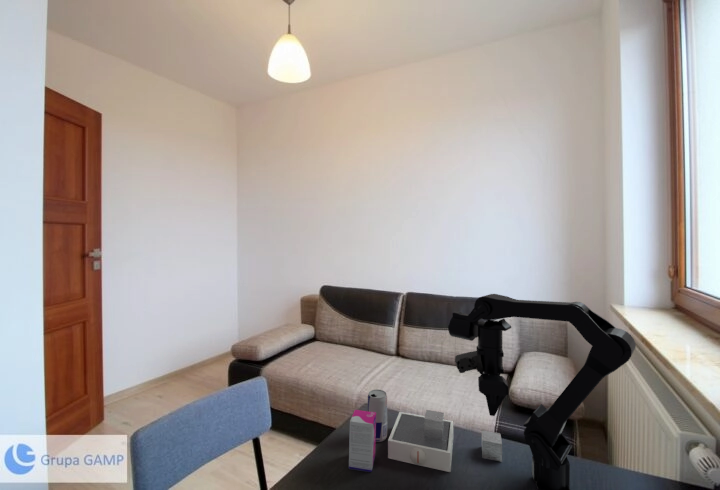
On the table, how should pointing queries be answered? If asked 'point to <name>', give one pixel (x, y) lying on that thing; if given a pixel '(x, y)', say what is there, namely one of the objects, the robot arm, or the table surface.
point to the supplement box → (362, 440)
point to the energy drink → (379, 412)
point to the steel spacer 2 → (491, 446)
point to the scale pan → (419, 433)
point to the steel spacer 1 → (434, 424)
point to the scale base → (421, 450)
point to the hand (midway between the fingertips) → (490, 406)
